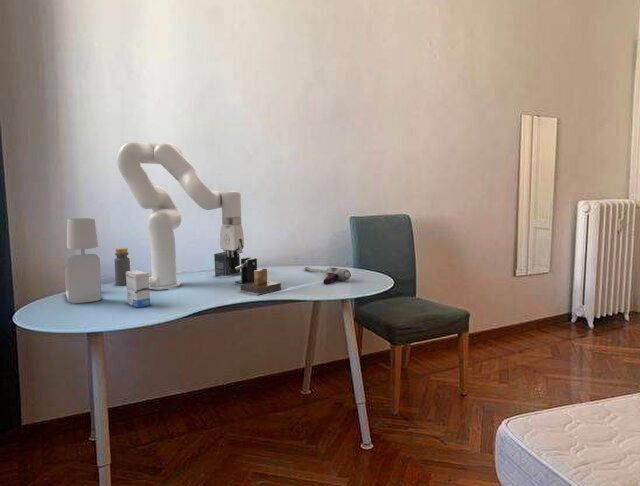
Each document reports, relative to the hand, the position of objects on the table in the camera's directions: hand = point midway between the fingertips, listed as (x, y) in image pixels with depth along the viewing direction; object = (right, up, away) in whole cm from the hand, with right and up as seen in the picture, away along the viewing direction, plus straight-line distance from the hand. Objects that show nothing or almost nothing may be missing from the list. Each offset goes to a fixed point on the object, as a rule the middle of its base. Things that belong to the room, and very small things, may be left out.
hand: (233, 266), depth 214 cm
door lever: (+3, -2, +4) cm, 5 cm away
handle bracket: (+5, -8, +8) cm, 12 cm away
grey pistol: (+33, -7, +22) cm, 41 cm away
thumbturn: (+12, -6, -6) cm, 15 cm away
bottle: (-47, -8, +6) cm, 48 cm away
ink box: (-27, -12, -28) cm, 41 cm away
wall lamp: (-51, -11, -19) cm, 55 cm away
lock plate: (+12, -9, -6) cm, 16 cm away
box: (-8, -6, +26) cm, 28 cm away
